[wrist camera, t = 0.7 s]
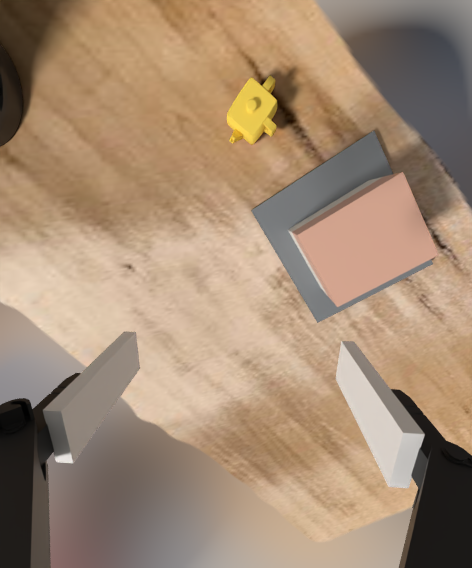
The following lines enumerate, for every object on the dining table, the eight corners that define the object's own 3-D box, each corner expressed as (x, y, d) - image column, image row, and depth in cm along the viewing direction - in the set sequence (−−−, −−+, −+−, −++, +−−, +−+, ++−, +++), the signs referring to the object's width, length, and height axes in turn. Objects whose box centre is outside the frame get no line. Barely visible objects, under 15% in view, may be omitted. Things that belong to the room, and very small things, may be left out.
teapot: (252, 166, 34) (252, 158, 29) (219, 137, 34) (213, 125, 29) (291, 112, 32) (298, 94, 27) (256, 80, 31) (257, 56, 27)
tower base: (251, 210, 36) (250, 210, 27) (370, 132, 32) (413, 104, 24) (316, 320, 40) (333, 350, 31) (428, 262, 36) (482, 278, 28)
